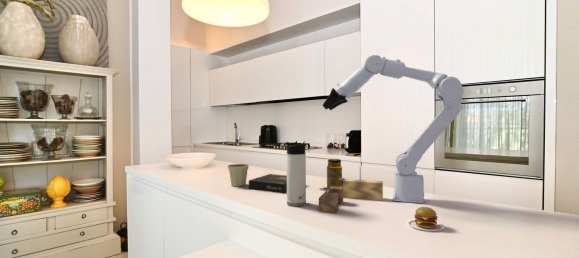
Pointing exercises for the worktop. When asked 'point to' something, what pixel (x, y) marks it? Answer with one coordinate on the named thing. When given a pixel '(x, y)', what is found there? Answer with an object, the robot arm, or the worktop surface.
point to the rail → (362, 189)
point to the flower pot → (238, 174)
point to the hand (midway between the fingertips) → (326, 107)
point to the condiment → (333, 173)
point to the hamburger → (425, 219)
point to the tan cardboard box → (331, 199)
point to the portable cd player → (269, 183)
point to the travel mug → (296, 175)
